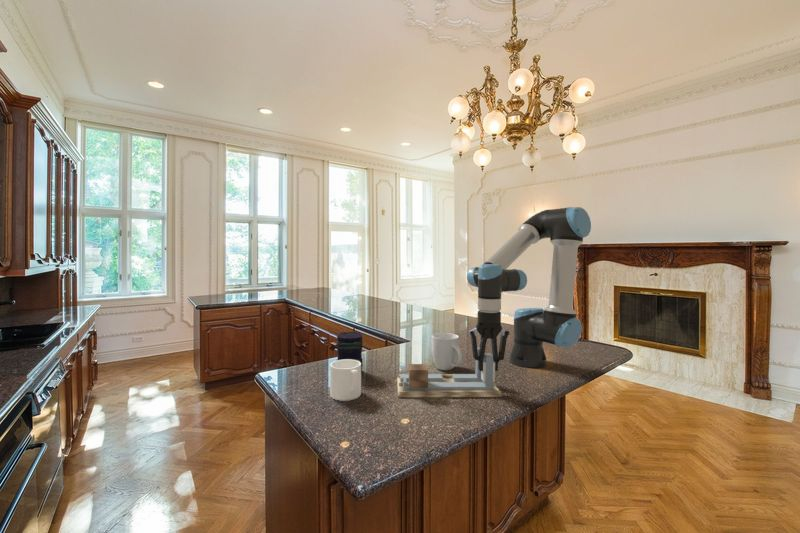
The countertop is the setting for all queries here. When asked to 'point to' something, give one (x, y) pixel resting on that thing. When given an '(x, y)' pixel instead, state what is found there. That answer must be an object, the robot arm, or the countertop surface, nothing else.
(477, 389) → the strip
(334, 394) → the mug
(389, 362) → the countertop surface
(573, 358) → the countertop surface
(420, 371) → the walnut block
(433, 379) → the broken strip
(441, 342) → the mug
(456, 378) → the broken strip
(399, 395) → the lane board
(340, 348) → the storage jar
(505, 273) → the robot arm
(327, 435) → the countertop surface
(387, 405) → the countertop surface
